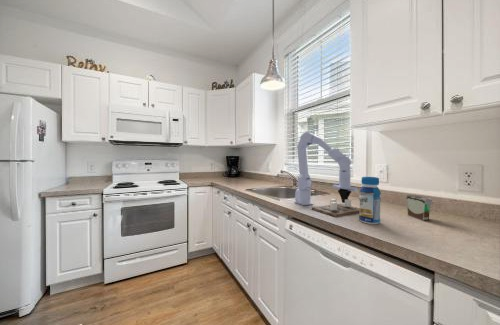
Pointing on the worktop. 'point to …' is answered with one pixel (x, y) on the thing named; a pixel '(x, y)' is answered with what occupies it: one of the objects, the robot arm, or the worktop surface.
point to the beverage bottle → (370, 201)
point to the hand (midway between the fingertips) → (344, 202)
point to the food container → (418, 207)
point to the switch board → (340, 210)
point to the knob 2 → (333, 205)
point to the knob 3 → (347, 202)
